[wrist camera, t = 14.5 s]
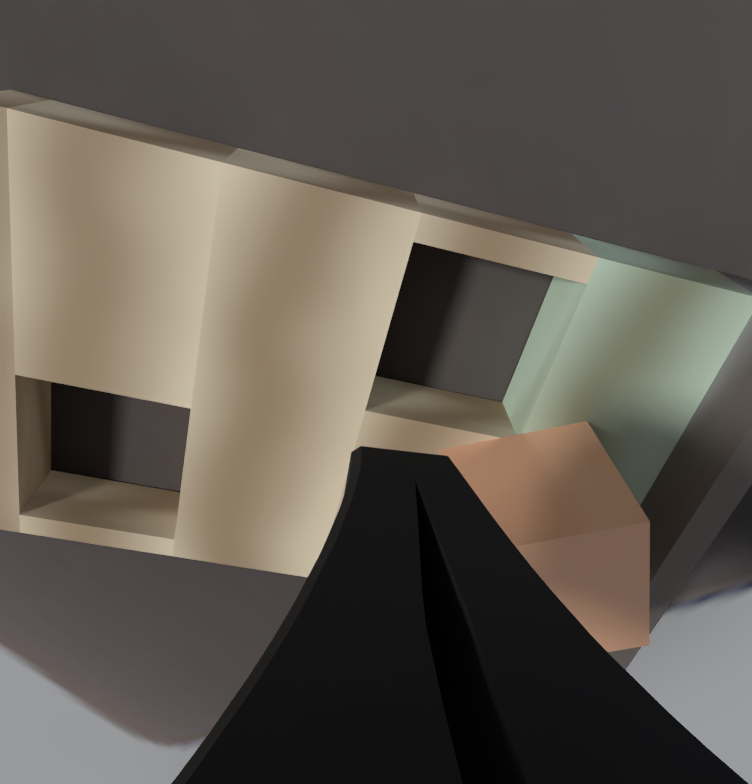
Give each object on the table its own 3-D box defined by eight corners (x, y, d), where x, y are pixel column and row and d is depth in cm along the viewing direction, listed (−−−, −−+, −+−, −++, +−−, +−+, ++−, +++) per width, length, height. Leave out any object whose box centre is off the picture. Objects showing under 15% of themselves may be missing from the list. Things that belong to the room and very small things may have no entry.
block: (586, 420, 17) (649, 521, 14) (592, 531, 19) (649, 645, 16) (439, 449, 18) (462, 556, 14) (460, 555, 20) (485, 672, 16)
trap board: (747, 278, 18) (849, 339, 14) (579, 575, 23) (622, 673, 20) (11, 89, 15) (-101, 104, 11) (22, 482, 20) (-50, 578, 17)
